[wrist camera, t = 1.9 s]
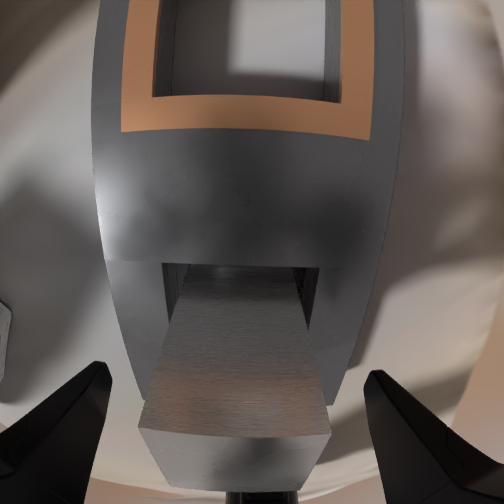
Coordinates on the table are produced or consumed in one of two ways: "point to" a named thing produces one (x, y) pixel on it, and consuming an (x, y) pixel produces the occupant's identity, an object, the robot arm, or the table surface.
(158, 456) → the steel peg
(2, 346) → the light bulb box
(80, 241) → the table surface
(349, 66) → the rail
